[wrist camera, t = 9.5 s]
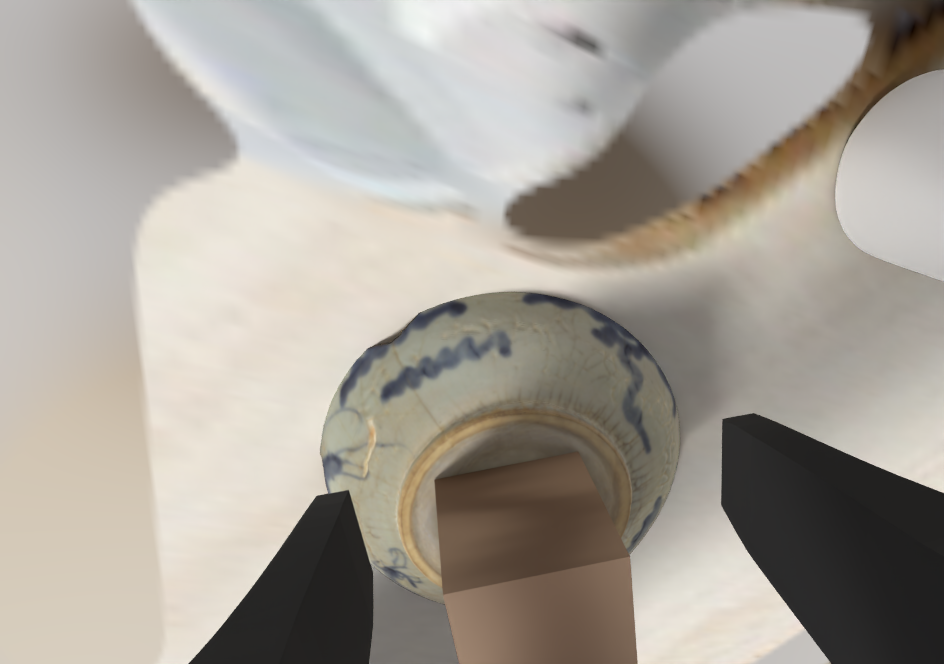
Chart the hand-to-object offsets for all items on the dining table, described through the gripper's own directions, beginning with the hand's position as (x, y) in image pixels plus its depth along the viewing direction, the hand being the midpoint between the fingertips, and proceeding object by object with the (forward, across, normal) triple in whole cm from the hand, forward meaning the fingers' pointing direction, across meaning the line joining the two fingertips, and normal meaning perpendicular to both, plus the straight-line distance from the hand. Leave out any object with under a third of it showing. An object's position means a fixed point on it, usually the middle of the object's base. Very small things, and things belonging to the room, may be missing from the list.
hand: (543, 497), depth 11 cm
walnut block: (+8, 0, +7) cm, 10 cm away
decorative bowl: (+11, 0, +7) cm, 13 cm away
